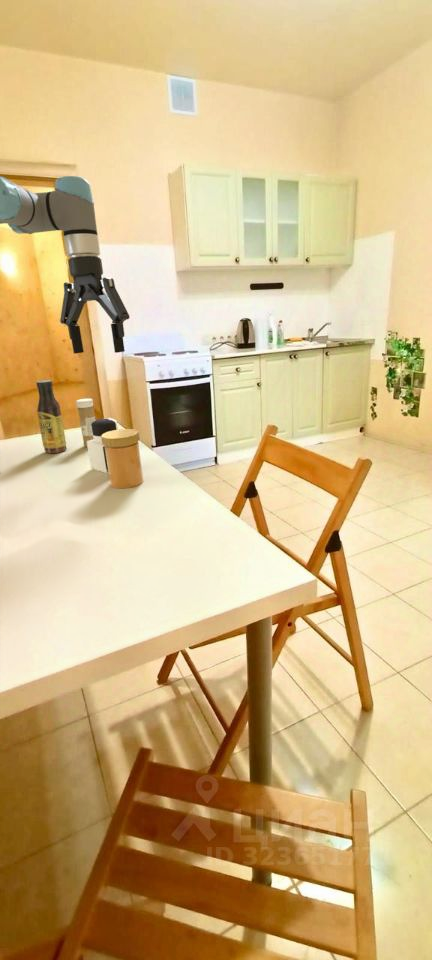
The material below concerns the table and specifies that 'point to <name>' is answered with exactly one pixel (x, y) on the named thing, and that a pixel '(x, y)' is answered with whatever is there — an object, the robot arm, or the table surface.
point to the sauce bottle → (50, 419)
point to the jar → (124, 466)
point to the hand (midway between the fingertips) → (98, 352)
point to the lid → (120, 437)
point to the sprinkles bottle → (86, 418)
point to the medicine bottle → (100, 443)
